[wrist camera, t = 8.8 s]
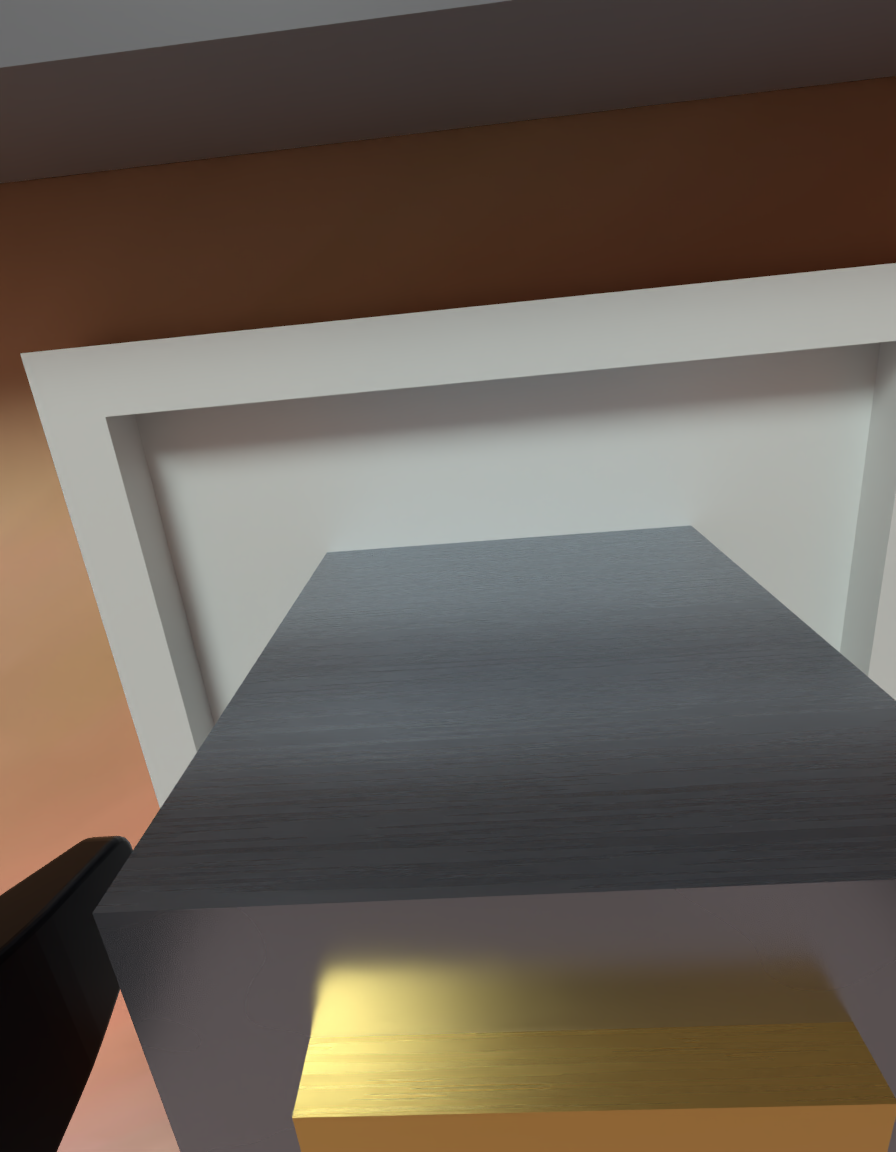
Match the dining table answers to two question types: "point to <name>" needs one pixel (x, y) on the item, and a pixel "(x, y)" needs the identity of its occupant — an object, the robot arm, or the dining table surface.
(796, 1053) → the module
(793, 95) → the dining table surface
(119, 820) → the dining table surface
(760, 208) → the dining table surface
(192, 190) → the dining table surface
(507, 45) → the case
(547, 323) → the tray
